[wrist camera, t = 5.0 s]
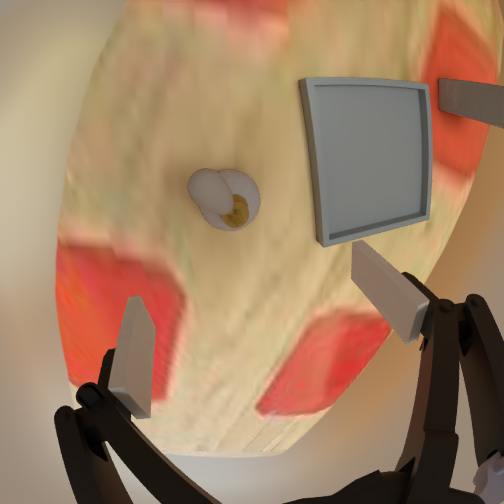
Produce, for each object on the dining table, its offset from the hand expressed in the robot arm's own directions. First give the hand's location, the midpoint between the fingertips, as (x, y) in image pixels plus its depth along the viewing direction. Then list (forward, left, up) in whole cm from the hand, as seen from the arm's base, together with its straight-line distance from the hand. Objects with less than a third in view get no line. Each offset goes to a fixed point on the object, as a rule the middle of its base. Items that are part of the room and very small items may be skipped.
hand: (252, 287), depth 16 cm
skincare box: (-11, +44, -23) cm, 51 cm away
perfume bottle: (0, 0, -23) cm, 23 cm away
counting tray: (-1, +24, -23) cm, 33 cm away
